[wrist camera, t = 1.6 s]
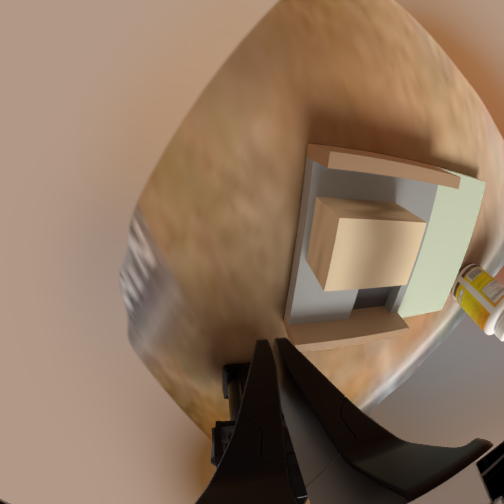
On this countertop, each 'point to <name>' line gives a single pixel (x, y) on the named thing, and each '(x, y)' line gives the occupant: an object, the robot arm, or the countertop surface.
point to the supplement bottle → (481, 299)
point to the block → (362, 243)
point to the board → (427, 261)
